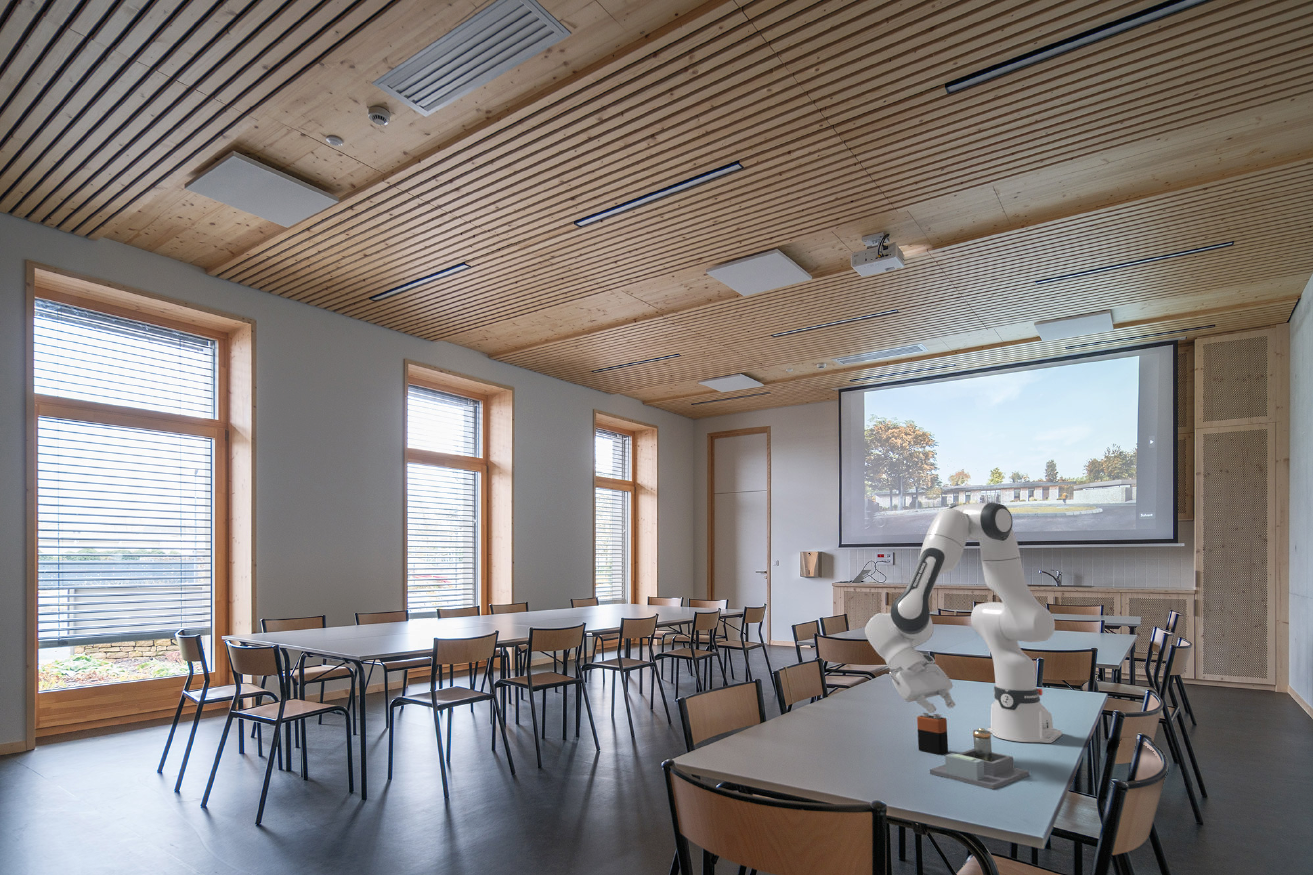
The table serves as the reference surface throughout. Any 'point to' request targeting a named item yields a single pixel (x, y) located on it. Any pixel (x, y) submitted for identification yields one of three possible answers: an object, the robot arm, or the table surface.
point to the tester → (980, 769)
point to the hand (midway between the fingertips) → (943, 709)
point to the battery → (932, 733)
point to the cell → (982, 744)
